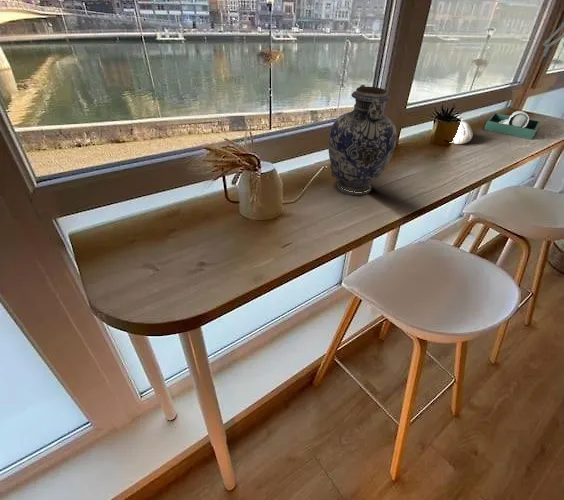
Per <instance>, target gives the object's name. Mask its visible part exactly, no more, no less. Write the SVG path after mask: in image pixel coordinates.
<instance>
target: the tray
mask: <svg viewBox="0 0 564 500" xmlns="http://www.w3.org/2000/svg"><path fill="white" fill-rule="evenodd" d="M509 117H510V115H508V114H503V113H497V112H493V114H491V116H490V117H489V118H488V119H487V121H486V123H485V125H484V127H483V130H484V131H489V132H494V133H500V134H504V135H508V136H514V137H519V138H522V139H528V140H533V138H534V137H535V135H536V133H537V131H538V129H539V126H540V123H541V120H535V119H530V118H529V122H528V124H527V126H526V127H524V128H522V127H517V126H512V125H507V124H502V123H499V122H500V121H503V120H507V119H509Z"/></svg>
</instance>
